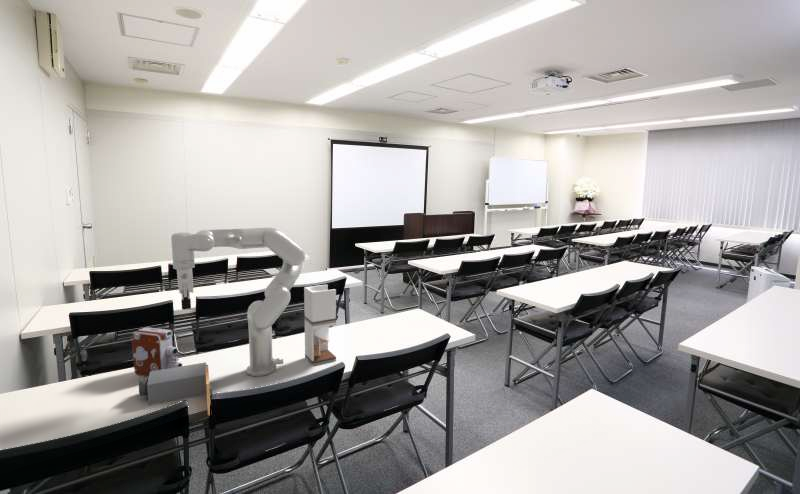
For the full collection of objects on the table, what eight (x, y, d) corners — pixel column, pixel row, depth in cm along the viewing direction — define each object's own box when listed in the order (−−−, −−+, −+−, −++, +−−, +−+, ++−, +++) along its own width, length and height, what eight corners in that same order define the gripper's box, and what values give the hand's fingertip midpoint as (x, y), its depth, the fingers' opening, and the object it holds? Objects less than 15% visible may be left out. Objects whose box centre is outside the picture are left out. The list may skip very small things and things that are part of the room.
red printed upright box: (170, 382, 165) (167, 336, 162) (131, 376, 169) (127, 331, 166) (186, 372, 174) (184, 328, 171) (149, 367, 178) (145, 324, 175)
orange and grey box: (206, 380, 168) (206, 362, 166) (208, 393, 157) (207, 374, 156) (142, 391, 157) (140, 372, 156) (139, 407, 147) (137, 386, 145)
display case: (312, 366, 183) (312, 292, 178) (305, 357, 192) (304, 287, 186) (335, 360, 189) (335, 289, 184) (327, 352, 198) (327, 284, 192)
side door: (206, 393, 157) (205, 364, 155) (212, 392, 157) (210, 363, 156) (207, 415, 142) (206, 384, 140) (213, 414, 143) (212, 383, 141)
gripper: (194, 266, 152) (197, 312, 155) (194, 260, 166) (196, 302, 168) (172, 268, 149) (175, 315, 152) (173, 261, 162) (176, 304, 165)
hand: (186, 308), depth 160 cm, fingers closed
